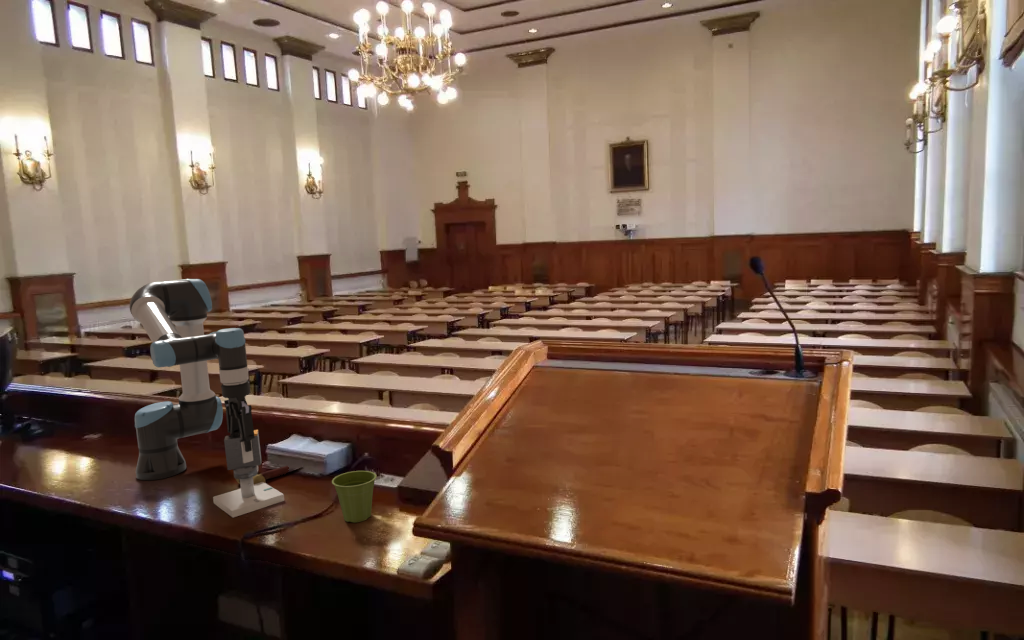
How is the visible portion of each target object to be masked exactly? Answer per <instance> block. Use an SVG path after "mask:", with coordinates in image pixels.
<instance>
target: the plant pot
mask: <svg viewBox="0 0 1024 640" xmlns="http://www.w3.org/2000/svg"><path fill="white" fill-rule="evenodd" d="M377 477H378V476H377V474H376V473H375V472H373V471H370V470H356V471H355V470H353V471H347V472H345V473H341V474H338V475H336V476H334V478H332V480H331V484H332V485H333V486H334V488H335V491H336V494H337V497H338V500H339V501H338V502H339V505H340V509H341V512H342V517H343V520H344V521H345V522H346V523H348V522H350V523H356V524H357V523H359V522H364V521H366V520H368V519H369V518H371V516H372V508H373V507H372V506H373V505H372V504H373V493H374V487H375V480H376V479H377Z"/></svg>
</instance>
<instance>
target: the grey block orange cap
mask: <svg viewBox="0 0 1024 640" xmlns="http://www.w3.org/2000/svg"><path fill="white" fill-rule="evenodd" d="M259 435H260V434H259V429H254V436H255V438H254V439H251V443H252V452H253V461H251V462H247V463H243V457H242V448H241V442H240V440H242V437H241V434H237V435H226V436H224V439H223V442H224V451H225V457H226V468H227V471H229V470H230V471H231V470H233V478H234V479H235V480H236V479H247V478H251V477H254V476H256V475H257V474H258V472H257V466H258V467H259V466H261V465H262V453H261V445H260V436H259Z"/></svg>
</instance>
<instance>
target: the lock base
mask: <svg viewBox="0 0 1024 640" xmlns="http://www.w3.org/2000/svg"><path fill="white" fill-rule="evenodd" d="M239 485H240V488H238V489H235V490H232V491H227V492H225V493H221V494H218V495H215V496H213V497H212V500H213V504H214V505H215V506H217V508H219V509H220V510H222V511H224V513H226V514H227V515H229V516H230V517H231V518H236V517H238V516H242V515H245V514H247V513H248V514H249V513H251V512H254V511H257V510H260V509H263V508H266V507H269V506H272V505H275V504H278V503H281V502H284V501H285V495H284V493H282V491H281V492H280V491H279V490H278V489H276V488H274V487H272V486H271V485H269V484H268V483H266V482H265V483H264V482H260V483H257V484H254V483H253V477H251V478H247V479H240V484H239Z"/></svg>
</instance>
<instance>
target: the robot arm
mask: <svg viewBox="0 0 1024 640" xmlns="http://www.w3.org/2000/svg"><path fill="white" fill-rule="evenodd" d="M210 293H211V292H210V290H209V288H208V286H207V284H206V282H205V281H203V280H202V279H200V278H185V279H184V278H183V279H175V280H166V281H165V280H164V281H153V282H149V283H147V284H145V285H142V286H141V287H139V288H138V289H137V290H136V291H135V293H134V294H133V295H131V296H132V297H131V299H130V300H129V312H130V315H131V316H132V318H133V319H134V320H135V321H136V322H137V323H140V325H142V328H143V329H144V331H145V332H146V334H147V336H148V337H149V339H150V341H151V342H152V343H151V344H150V347H149V348H150V351H149V352H150V357H151V360H152V364H153V366H155V368H166V367H168V368H171V367H174V366H179V370H180V371H179V372H180V379H181V389H182V393H181V395H180V396H179V397H178V403H177V404H174V403H173V402H172V401H168V400H167V401H166V400H165V401H162V402H160V401H159V402H155V403H152V404H148V405H146V406H144V407H142V408H139V409H138V410H137V411H136V412H135V414H134V428H135V430H136V439H137V448H138V458H137V462H136V463H137V464H136V468H135V476H136V479H137V480H140V481H155V480H156V481H157V480H163V479H166V478H170V477H173V476H176V475H178V474H181V473H182V472H185V470H186V469H187V463H186V459H185V457H184V455H183V453H182V452H181V450H180V447H179V446H178V439H182V438H186V437H190V436H195V435H196V436H197V435H200V434H208V433H209V432H212V431H216V430H218V429H220V427H221V425H222V423H223V418H224V417H223V416H224V415H223V414H224V410H223V409H224V408H223V406H222V405H223V404H224V407H225V415H226V417H225V418H226V425H227V426H226V427H227V433H229V434H230V435H237V434H241V437H242V440H240V442H241V448H242V457H243V463H247V462H251V461H253V452H252V443H251V439H254V438H255V436H254V430H255V429H254V421H253V415H252V405H251V404H250V405H248V402H247V400H246V396H248V395H250V394H251V385H250V381H248V380H249V379H250V377H249V371H250V368H249V367H248V359H247V358H248V357H247V349H246V348H247V347H246V337H245V332H244V329H242V328H240V327H237V328H236V327H230V328H222V329H219V330H217V331H213V332H210V333H209V334H205V330H204V329H205V328H204V322H205V321H206V320H207V318H208V313H210V312H211V311H212V310H213V302H212V298H211V294H210ZM212 360H218V367H219V368H218V370H219V381H220V383H221V386H220V387H221V396H222V398H225V400H224V401H223V402H222V399H221V398H220V397H219V396H216V393H215V392H214V391H213V390H212V389H211V388H210V377H209V376H210V375H209V367H208V361H212ZM230 435H229V436H230Z"/></svg>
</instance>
